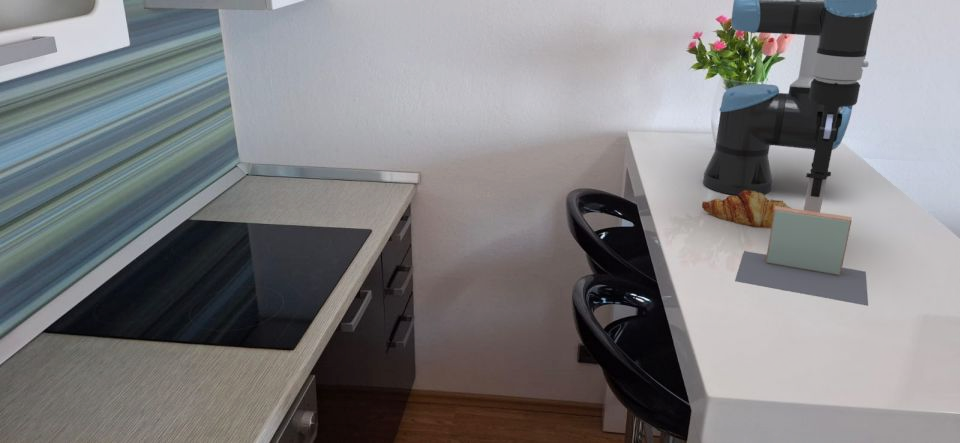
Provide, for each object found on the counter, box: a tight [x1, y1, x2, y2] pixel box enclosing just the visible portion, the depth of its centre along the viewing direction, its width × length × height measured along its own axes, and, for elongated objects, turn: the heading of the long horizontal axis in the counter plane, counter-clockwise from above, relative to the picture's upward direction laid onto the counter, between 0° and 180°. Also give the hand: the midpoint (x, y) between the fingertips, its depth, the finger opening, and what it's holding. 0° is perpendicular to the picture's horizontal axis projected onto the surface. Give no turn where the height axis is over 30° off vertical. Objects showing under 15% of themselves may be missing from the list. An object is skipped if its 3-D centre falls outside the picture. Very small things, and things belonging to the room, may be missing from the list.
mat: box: [734, 250, 869, 307], centre depth 126 cm, size 14×20×1 cm
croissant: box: [701, 190, 792, 229], centre depth 151 cm, size 21×10×8 cm, turn 70°
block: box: [766, 206, 853, 275], centre depth 128 cm, size 2×12×10 cm, turn 66°
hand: (811, 211), depth 134 cm, fingers closed
